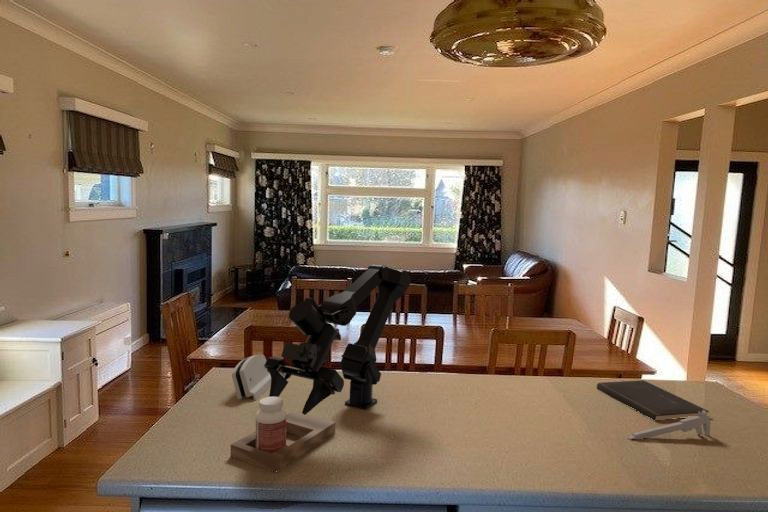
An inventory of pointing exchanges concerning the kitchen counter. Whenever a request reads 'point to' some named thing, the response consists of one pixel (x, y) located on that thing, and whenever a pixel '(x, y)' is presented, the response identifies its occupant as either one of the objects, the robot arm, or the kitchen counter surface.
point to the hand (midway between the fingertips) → (286, 409)
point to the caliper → (678, 427)
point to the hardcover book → (650, 399)
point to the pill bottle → (270, 425)
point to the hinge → (251, 377)
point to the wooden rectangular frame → (296, 424)
